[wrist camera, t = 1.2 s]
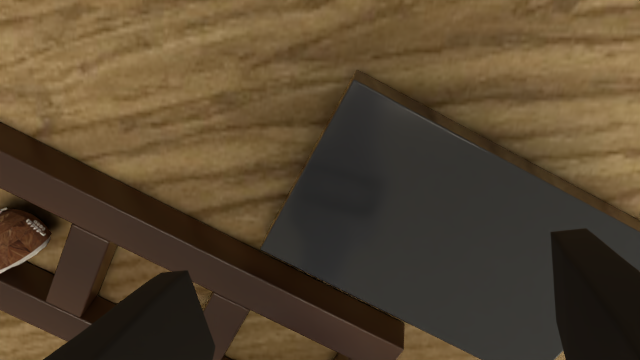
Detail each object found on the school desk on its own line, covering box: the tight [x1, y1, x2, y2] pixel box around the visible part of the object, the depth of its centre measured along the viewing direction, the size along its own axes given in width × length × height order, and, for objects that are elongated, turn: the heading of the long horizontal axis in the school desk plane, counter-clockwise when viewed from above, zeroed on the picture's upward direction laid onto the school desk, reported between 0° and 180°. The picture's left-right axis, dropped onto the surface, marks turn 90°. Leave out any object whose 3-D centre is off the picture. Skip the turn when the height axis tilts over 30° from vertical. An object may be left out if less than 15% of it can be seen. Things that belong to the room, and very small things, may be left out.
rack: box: [0, 123, 404, 360], centre depth 25 cm, size 8×20×2 cm, turn 63°
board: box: [260, 70, 640, 360], centre depth 22 cm, size 8×12×1 cm, turn 64°
